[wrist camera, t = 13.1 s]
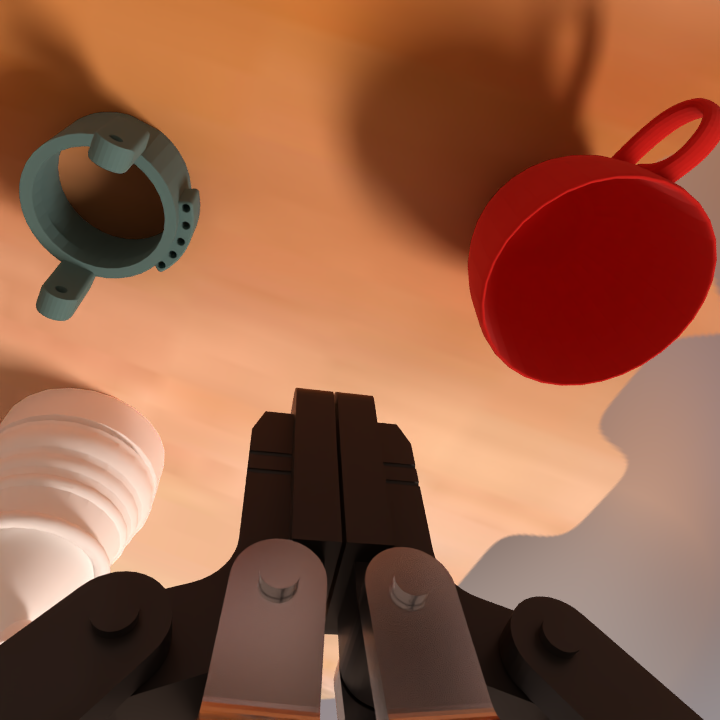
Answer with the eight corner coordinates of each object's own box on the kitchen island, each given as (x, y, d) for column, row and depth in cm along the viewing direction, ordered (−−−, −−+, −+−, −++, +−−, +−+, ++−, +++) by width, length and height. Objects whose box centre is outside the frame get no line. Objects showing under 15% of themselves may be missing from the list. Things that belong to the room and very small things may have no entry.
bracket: (88, 258, 40) (40, 328, 33) (24, 116, 35) (-51, 161, 27) (219, 235, 40) (201, 300, 33) (174, 89, 35) (140, 127, 27)
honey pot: (96, 362, 45) (-10, 567, 30) (195, 470, 52) (149, 680, 37) (-37, 426, 47) (-195, 644, 32) (75, 521, 54) (-14, 736, 39)
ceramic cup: (720, 131, 38) (833, 181, 30) (550, 332, 46) (603, 415, 38) (567, 18, 34) (650, 38, 26) (409, 260, 42) (434, 336, 33)
